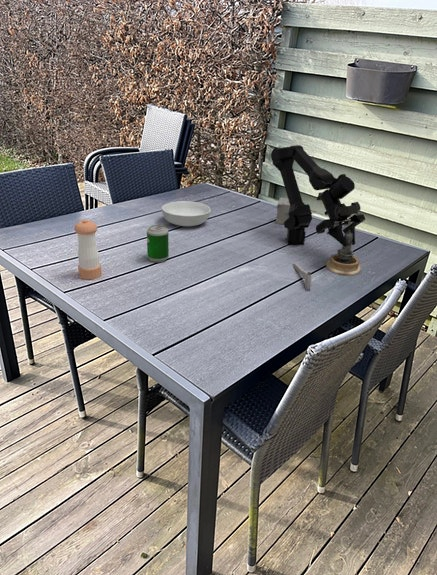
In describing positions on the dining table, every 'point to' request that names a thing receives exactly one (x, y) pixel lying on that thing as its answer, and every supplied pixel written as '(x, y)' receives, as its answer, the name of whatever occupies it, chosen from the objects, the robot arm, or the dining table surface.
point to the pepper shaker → (87, 250)
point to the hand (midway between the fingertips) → (349, 245)
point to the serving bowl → (186, 213)
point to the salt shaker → (346, 250)
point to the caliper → (304, 275)
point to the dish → (343, 266)
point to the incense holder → (282, 210)
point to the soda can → (157, 243)
